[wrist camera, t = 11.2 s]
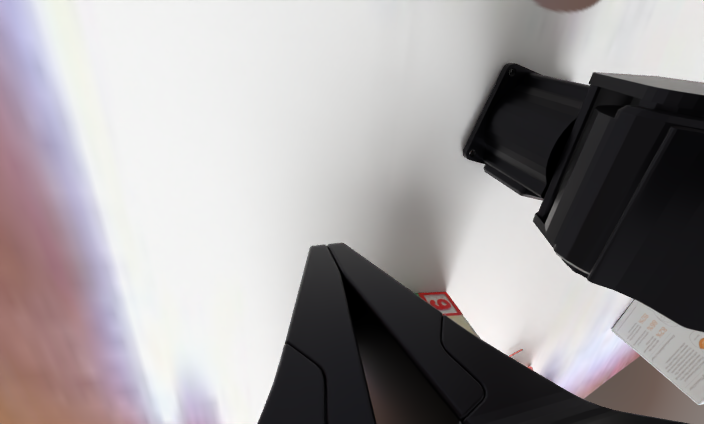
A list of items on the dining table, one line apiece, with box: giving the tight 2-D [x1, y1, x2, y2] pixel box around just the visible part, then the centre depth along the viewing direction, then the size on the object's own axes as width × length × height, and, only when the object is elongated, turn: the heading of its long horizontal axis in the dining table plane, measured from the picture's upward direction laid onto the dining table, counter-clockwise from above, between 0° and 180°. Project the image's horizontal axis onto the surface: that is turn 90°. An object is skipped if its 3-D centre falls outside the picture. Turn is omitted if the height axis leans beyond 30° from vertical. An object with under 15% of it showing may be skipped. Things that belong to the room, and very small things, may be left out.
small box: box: [612, 300, 704, 405], centre depth 39 cm, size 8×6×10 cm
